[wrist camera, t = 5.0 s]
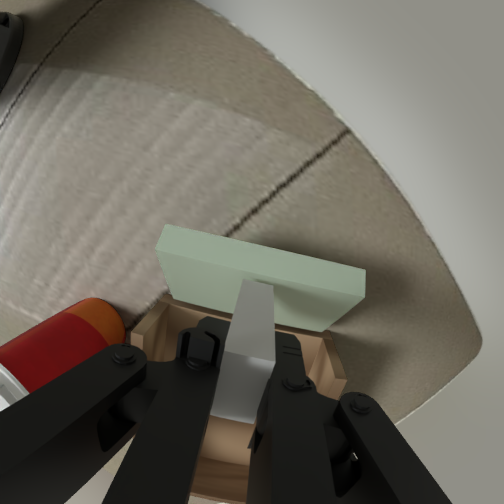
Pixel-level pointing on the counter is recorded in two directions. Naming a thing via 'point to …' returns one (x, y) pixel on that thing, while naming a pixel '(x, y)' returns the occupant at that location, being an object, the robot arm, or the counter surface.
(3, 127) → the counter surface
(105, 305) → the paper cup
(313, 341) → the crate
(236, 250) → the book
